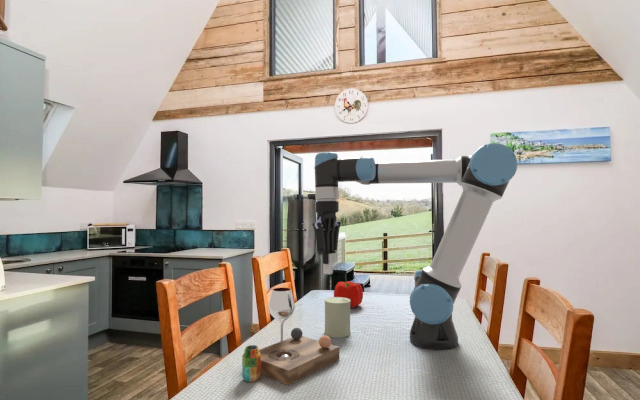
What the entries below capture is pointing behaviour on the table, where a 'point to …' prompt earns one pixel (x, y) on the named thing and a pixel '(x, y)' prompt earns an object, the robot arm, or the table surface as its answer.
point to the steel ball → (284, 356)
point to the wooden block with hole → (296, 359)
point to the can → (337, 317)
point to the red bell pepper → (349, 292)
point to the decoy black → (296, 333)
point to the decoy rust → (325, 341)
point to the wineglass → (281, 306)
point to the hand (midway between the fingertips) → (328, 273)
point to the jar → (251, 363)
